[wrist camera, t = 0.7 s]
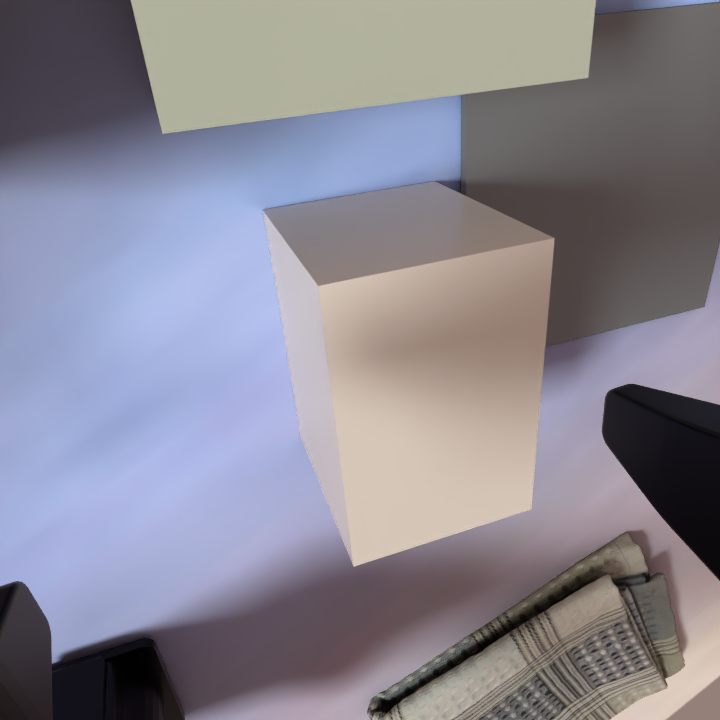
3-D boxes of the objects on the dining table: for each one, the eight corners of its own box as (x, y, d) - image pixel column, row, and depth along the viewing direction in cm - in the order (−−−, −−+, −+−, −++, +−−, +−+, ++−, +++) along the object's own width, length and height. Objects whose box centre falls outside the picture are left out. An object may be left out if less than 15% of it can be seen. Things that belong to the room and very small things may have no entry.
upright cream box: (438, 398, 25) (531, 509, 19) (299, 435, 23) (353, 566, 17) (434, 181, 20) (554, 237, 14) (262, 209, 19) (318, 286, 13)
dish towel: (468, 786, 43) (490, 835, 41) (356, 692, 34) (375, 749, 31) (677, 645, 44) (712, 685, 41) (626, 511, 34) (668, 551, 31)
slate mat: (697, 303, 27) (704, 306, 27) (460, 362, 24) (464, 366, 24) (766, -3, 21) (776, -4, 21) (461, 28, 18) (467, 28, 18)
